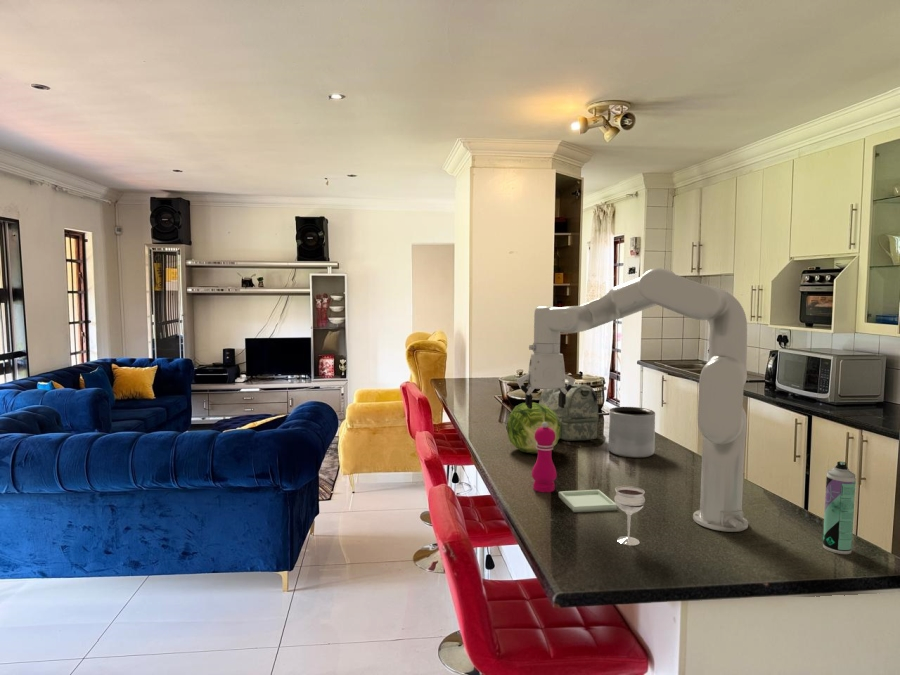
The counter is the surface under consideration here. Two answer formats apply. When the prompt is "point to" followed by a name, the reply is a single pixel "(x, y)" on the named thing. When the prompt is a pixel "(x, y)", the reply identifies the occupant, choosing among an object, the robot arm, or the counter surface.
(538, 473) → the pepper mill
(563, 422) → the lunch bag
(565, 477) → the counter surface
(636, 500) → the wineglass
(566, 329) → the robot arm
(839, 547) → the spray can
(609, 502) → the tray
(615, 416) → the planter
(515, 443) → the lettuce
